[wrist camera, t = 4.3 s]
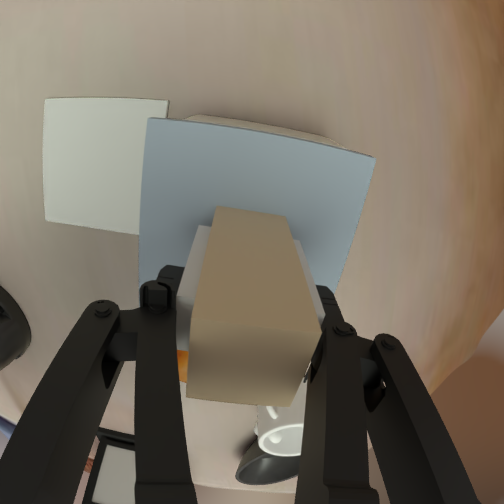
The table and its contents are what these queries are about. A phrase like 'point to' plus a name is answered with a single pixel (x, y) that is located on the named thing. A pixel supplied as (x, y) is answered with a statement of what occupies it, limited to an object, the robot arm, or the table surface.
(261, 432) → the mug
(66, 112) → the mat
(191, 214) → the lid
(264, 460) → the bowl
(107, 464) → the lantern
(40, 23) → the table surface
